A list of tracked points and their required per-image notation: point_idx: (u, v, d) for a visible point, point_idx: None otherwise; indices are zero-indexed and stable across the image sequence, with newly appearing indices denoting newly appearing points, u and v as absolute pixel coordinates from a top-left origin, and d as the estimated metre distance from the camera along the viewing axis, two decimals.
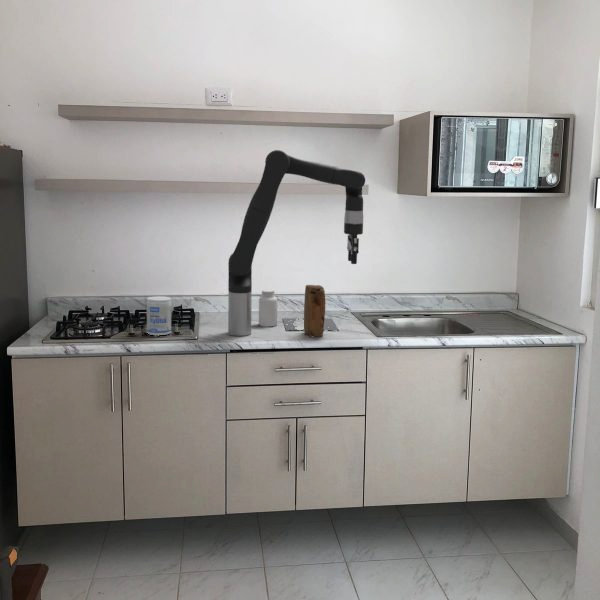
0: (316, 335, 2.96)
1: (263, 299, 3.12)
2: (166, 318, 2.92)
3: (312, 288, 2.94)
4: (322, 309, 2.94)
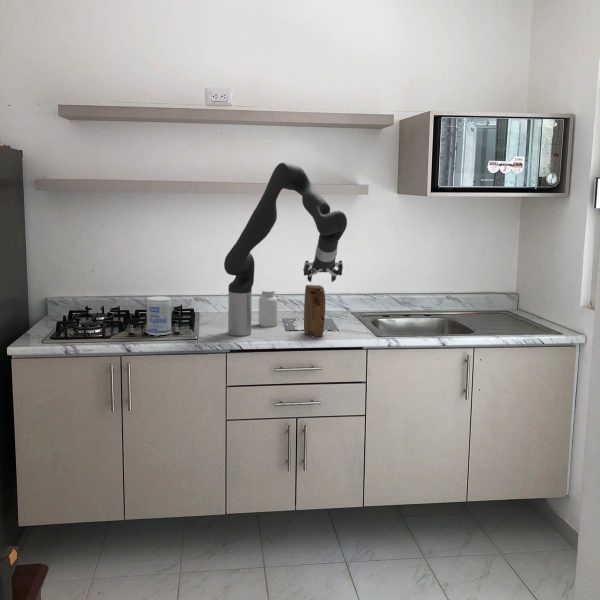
0: (316, 335, 2.96)
1: (263, 299, 3.12)
2: (166, 318, 2.92)
3: (312, 288, 2.94)
4: (322, 309, 2.94)
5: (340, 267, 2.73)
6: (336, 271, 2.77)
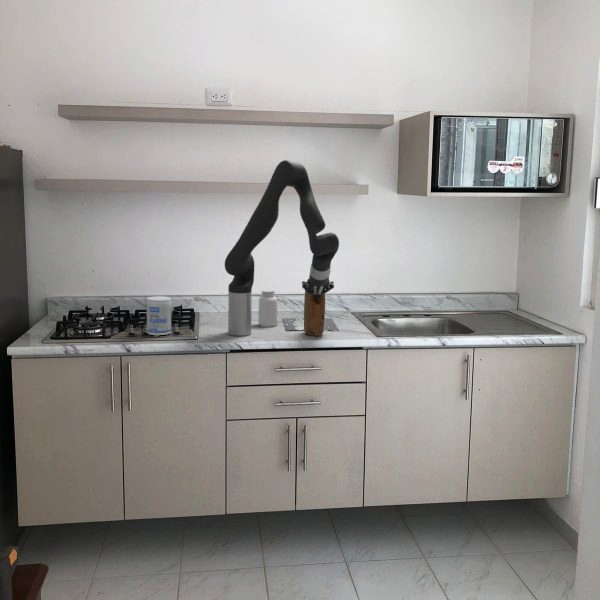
0: (316, 334, 2.96)
1: (263, 299, 3.12)
2: (166, 318, 2.92)
3: None
4: (322, 307, 2.95)
5: (331, 287, 2.87)
6: (321, 290, 2.91)
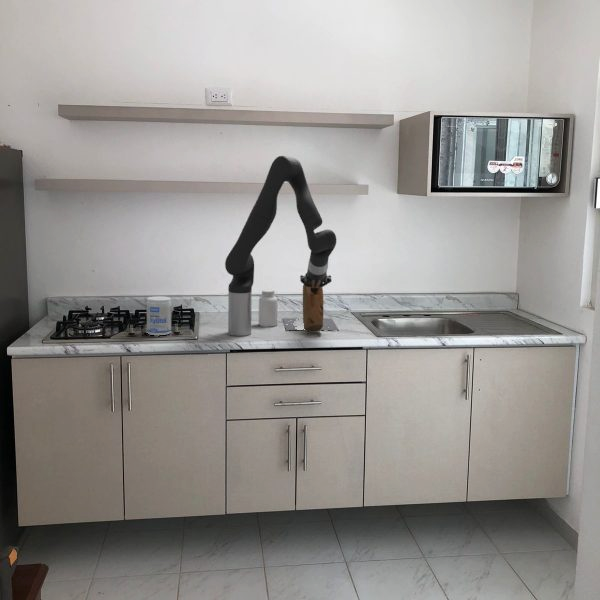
0: (316, 322, 2.97)
1: (263, 299, 3.12)
2: (166, 318, 2.92)
3: None
4: (320, 297, 3.01)
5: (328, 281, 2.94)
6: None
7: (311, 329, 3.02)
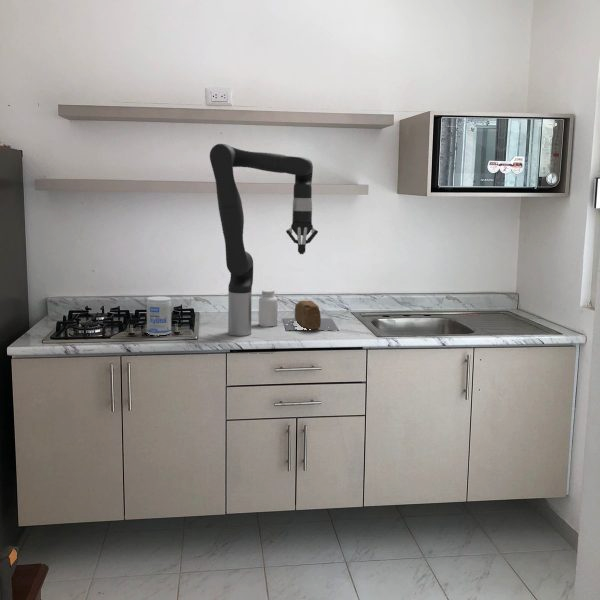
0: (312, 305, 3.05)
1: (263, 299, 3.12)
2: (166, 318, 2.92)
3: (298, 303, 3.23)
4: (311, 301, 3.15)
5: (315, 232, 2.90)
6: None
7: (311, 321, 3.05)
